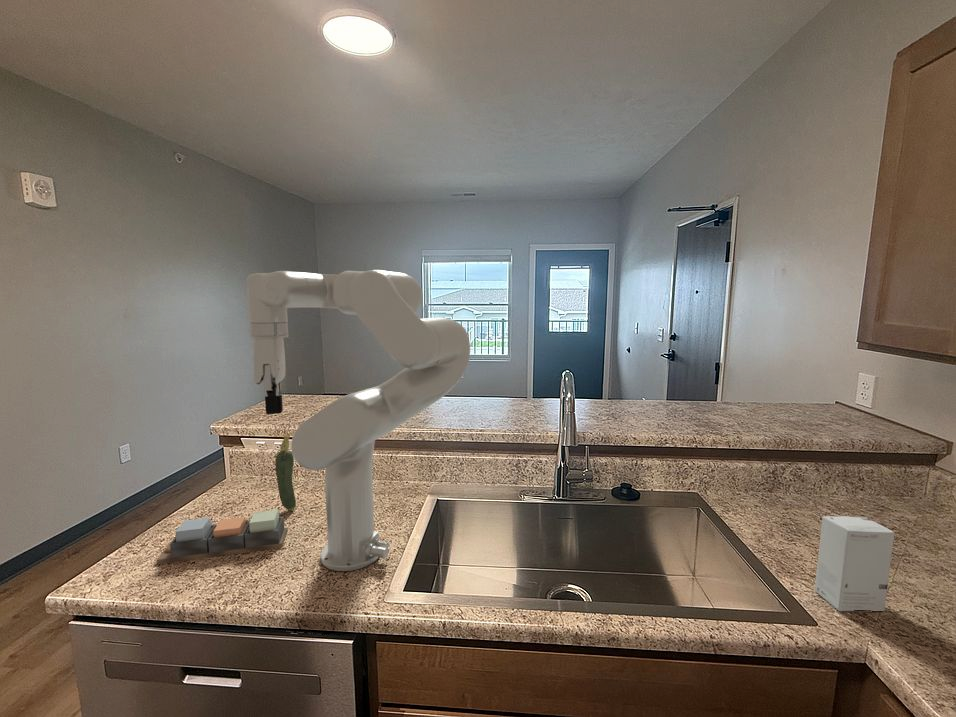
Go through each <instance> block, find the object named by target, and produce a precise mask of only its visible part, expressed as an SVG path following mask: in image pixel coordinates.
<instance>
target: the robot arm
mask: <svg viewBox="0 0 956 717" xmlns="http://www.w3.org/2000/svg"><path fill="white" fill-rule="evenodd" d="M246 289H247V290H246V291H247V304H248V320H249V321H248V322H249V333H250V334H249V335H250V339H253V340H254V341H253V381H254V384H255V385H257V386H258V385H260V384H262V383H263V388H264V404H265V414H267V415H276V414H277V415H278V414H280V415H281V414H282V413H283V411H284V407H283V404H284V403H283V394H282V381H283V380H284V379H285V377H286V352H285V351H286V350H285V344H284V341H285V340H284V338H289V327H288V326H289V322H288V321H289V320H288V309H297V308H299V309H300V308H301V309H303V308H310V309H311V308H315V309H317V308H319V309H321V308H322V309H334V310H335V309H338V311H339V312H341V313H343V314H344V315H350V316H357V317H358V318H359V320H360V321H361V322H362V324H363V325H364V326H365V327H366V328H367V330H368V331H369V332H370V333H371V335H372V336H373V337H374V338H375V340H376V341H378V343H379V344H380V345H381V347H382V348H383V349H384V351H385V352H386V353H387V355H389V356H390V357H391V359H393V361H395V362H396V363H397V364H398V365H399V366H400V367H403V369H402V370H401V371H399V372H398V373H397V374H395V375H394V376H392V377H391V378H389V379H388V380H386V381H385V382H382V383H381V384H379V385H377V386H376V385H375V386H373V387H369V388H366V389H361V390H359V391H355V392H351V393H348V394H346V395H344V396H341V397H339V398H338V399H336V400H334V401H332V402H331V403H330V404H328V405H327V406H325V407H324V408H322V409H321V410H319V411H318V412H317V413H315V414H314V415H312V416H310V417H309V418H308V419H306V420H304V422H302V423H301V424H299V426H298V427H297V428H296V430H295V431H294V433H293V436H292V439H291V446H290V448H291V449H290V450H291V452H292V454H293V458H294V460H295V462H296V463H297V465H299V466H301V467H302V468H304V469H307V470H310V471H321V470H325V472H324V473H325V474H324V489H325V490H324V491H325V493H324V494H325V511H326V512H325V514H326V529H327V530H326V531H327V532H326V533H327V535H326V536H327V544H326V545H324V547H323V548H322V550H321V551H320V562H321V564H322V565H323V567H326V568H327V569H328V570H331V571H335V572H349V571H350V572H351V571H357V570H359V569H363V568H366V567H367V566H369V565H371V564H372V563H374V562H376V561H377V560H378V559H379V558H383V559H386V558H387V557H388V555H389V547H390V542H389V541H385V540H383V541H382V540H380V538H379V534H380V533H379V531H376V530H375V520H374V519H375V518H374V491H373V460H374V459H373V457H374V456H373V455H374V449H375V443H376V440H378V439H380V438H382V437H384V436H386V435H388V434H390V433H392V432H393V431H395V430H396V429H397V428H399V427H400V426H401V425H402V424H404V423H406V422H407V421H408V420H411V418H413V417H415V416H417V415H418V414H420V413H421V412H422V411H424V410H426V409H427V408H429V407H430V406H433V405H434V404H435V403H436V402H438V401H439V400H441V399H442V398H444V397H445V396H446V395H447V394H448V393H449V392H451V391H452V390H453V389H454V388H455V386H456V385H458V383H459V381H460V380H461V379H462V378H463V376H464V374H465V372H466V370H467V367H468V365H469V362H470V357H471V344H470V342H471V341H470V338H469V334H468V332H467V330H466V329H465V327H464V326H463V325H462V324H461V323H460V322H457V321H456V320H454V319H450V318H447V317H426V318H425V317H424V318H420V317H419V316H418V315H417V314H416V312H417V311H418V309H419V308H420V306H421V305H422V300H423V292H422V288H421V285H420V283H419V282H418V281H417V280H416V279H415V278H414V277H413V276H410V275H408V274H406V273H404V272H399V271H398V272H397V271H388V270H382V269H371V270H366V271H362V270H361V271H359V270H358V271H357V270H344V271H342V272H340V273H339V274H334V273H333V274H327V273H316V272H314V273H313V272H305V271H304V272H303V271H291V270H277V271H273V272H260V273H259V272H255V273H251V274H249V275H248V276H247V278H246Z"/></svg>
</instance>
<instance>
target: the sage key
mask: <svg viewBox="0 0 956 717" xmlns="http://www.w3.org/2000/svg"><path fill="white" fill-rule="evenodd" d="M279 517H280V512H279V509H271V510H264V511H261V510H260V511H254V513H253V515H252V517H251V518H250V519H249V520H250V522H249V526H250V533H255V532H263V531H271V530H276V529H277V527H278V524H279Z"/></svg>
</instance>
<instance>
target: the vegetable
mask: <svg viewBox="0 0 956 717" xmlns="http://www.w3.org/2000/svg"><path fill="white" fill-rule="evenodd" d="M289 440H290V435H288V434H285V436H284V438H283V440H282V442H281V444H280V451H278V453H277V455H276V457H275V464H274V466H275V475H276V482H277V488H278V494H279V495H278V496H279V499H280V502H281V504H282V507H283V508H284V509H286V510H288V511H294V510H295V508H297V501H296V496H295V489H294V485H293V472H294V471H293V470H294V460H295V459H294V457H293V454H292V450H291V451H290V450H289V448H290V441H289Z"/></svg>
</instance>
